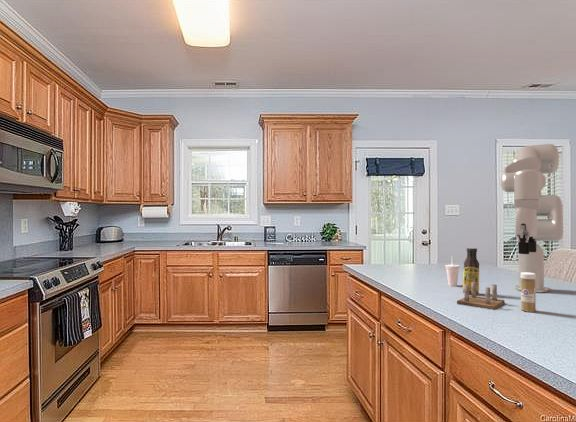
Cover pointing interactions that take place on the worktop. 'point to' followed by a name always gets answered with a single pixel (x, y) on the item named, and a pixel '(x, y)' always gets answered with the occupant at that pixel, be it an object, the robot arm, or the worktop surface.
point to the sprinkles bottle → (528, 292)
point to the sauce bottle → (471, 270)
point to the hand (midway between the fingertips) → (527, 253)
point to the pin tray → (481, 298)
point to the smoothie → (452, 273)
